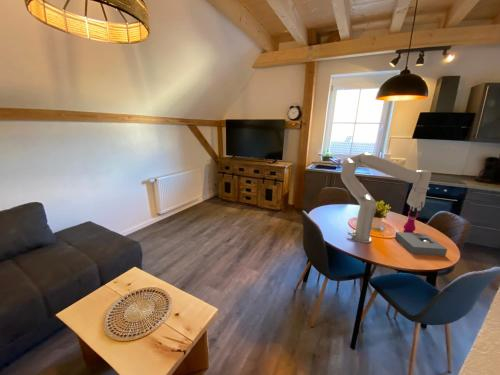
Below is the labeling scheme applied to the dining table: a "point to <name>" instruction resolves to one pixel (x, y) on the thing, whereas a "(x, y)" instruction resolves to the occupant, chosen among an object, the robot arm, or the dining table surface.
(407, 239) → the board
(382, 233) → the dining table surface
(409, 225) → the pepper mill
